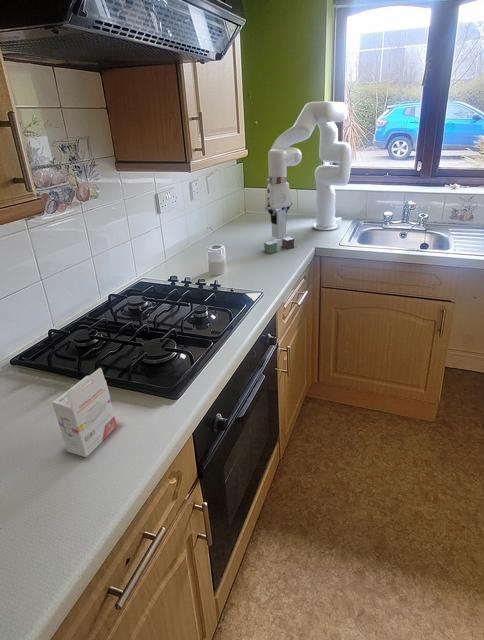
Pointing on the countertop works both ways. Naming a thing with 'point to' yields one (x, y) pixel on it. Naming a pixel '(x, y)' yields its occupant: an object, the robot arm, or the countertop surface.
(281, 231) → the cosmetic box
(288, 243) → the walnut block
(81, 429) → the ink cartridge box
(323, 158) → the robot arm
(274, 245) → the sage block
